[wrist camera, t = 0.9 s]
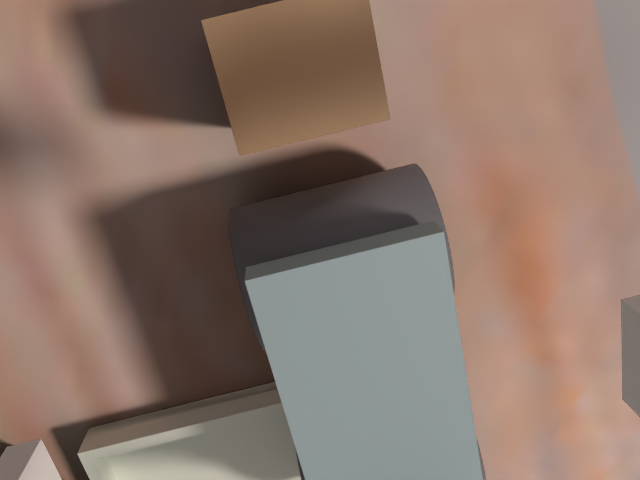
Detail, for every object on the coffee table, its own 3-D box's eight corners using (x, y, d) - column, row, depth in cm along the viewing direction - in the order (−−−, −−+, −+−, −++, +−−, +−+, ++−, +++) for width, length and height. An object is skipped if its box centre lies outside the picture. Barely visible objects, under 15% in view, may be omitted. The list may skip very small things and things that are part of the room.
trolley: (233, 192, 29) (200, 343, 14) (400, 151, 29) (534, 261, 14) (315, 470, 35) (348, 765, 21) (451, 436, 36) (577, 707, 21)
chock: (217, 25, 26) (201, 20, 20) (340, -5, 26) (365, -20, 20) (246, 128, 28) (239, 156, 21) (361, 100, 28) (390, 119, 21)
